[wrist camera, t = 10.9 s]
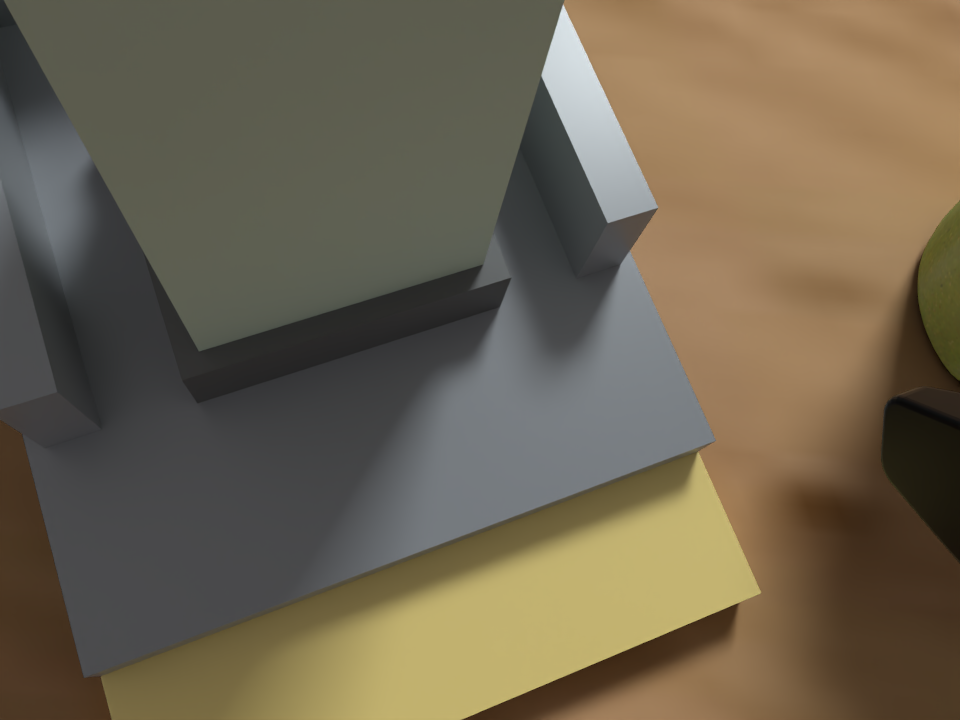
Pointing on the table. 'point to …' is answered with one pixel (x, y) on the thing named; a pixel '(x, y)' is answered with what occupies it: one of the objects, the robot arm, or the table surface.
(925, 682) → the table surface
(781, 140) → the table surface
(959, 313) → the plant pot
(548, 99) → the dock
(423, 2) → the pale green tall block
